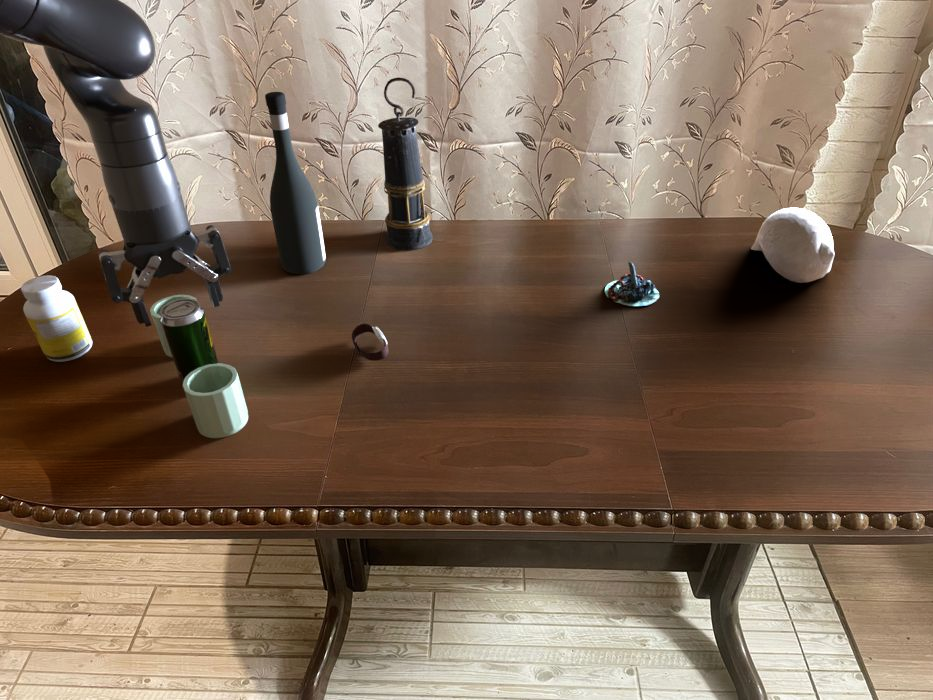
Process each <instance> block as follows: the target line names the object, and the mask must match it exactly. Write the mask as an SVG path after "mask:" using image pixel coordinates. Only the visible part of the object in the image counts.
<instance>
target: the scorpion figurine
mask: <svg viewBox="0 0 933 700" xmlns="http://www.w3.org/2000/svg"><path fill="white" fill-rule="evenodd" d="M627 263H628V268H629V273H628V274H623V276H620V278H619V279H617V280H613V281H611V282H610V283H607V284H606V286H605V288H604V293H605V296H606V297H607V298H608V299H610V300H612V301H613V302H614V303H618V304H621V305H624V306H628V307H643V306H649V305H651V304H653V303H655V302H657V301H658V299H659V298H660V292H659V291H658V290H657V288H656V285H655V284H654V282H653V281H651V280H649V279H648V280H645V279H644V278H643V277H642V275H639V274H636V273H637V272H636V268H635V267H636V266H635V264H633V262H631V261H629V260H628V261H627Z"/></svg>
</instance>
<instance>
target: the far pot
mask: <svg viewBox="0 0 933 700" xmlns="http://www.w3.org/2000/svg"><path fill="white" fill-rule="evenodd" d="M178 299H194V300H196V301H198V300H197V298H196V297H194V296H192V295H188V294H173V295H170V296H166V297H163V298H161V299H159V300H157V301H156V302H154V303H153V304H152V305H151V307H150V310H149V313H150V316H151V319H152V322H153V324H154V328H155V330H156V333H157V336H158V339H159V341H160V345H161V348H162V350H163V353H164V354H165V355H166V356H167V357H169V358H173V356H172V353H171V351H170V348H169V345H168V342H167V339H166V336H165V333H164V330H163V327H162V324H161V321H160V318H161V315H160V310H161V308H162V307H163V306H164V305H166V304H167V303H169V302H172V301H175V300H178Z"/></svg>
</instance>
